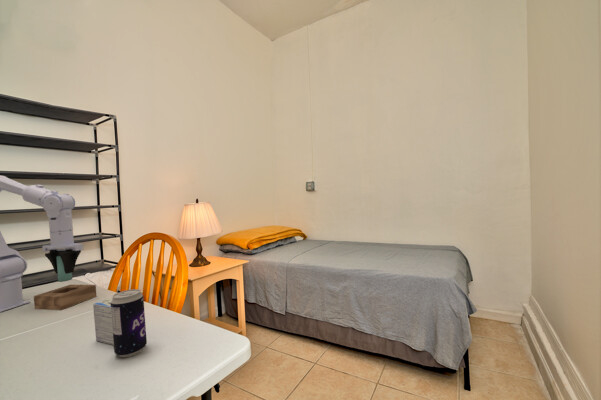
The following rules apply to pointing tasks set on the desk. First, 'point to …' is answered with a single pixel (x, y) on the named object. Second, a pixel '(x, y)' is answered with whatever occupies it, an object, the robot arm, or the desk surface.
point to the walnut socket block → (64, 297)
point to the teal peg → (62, 271)
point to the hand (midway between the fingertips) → (64, 272)
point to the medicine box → (103, 321)
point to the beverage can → (128, 322)
